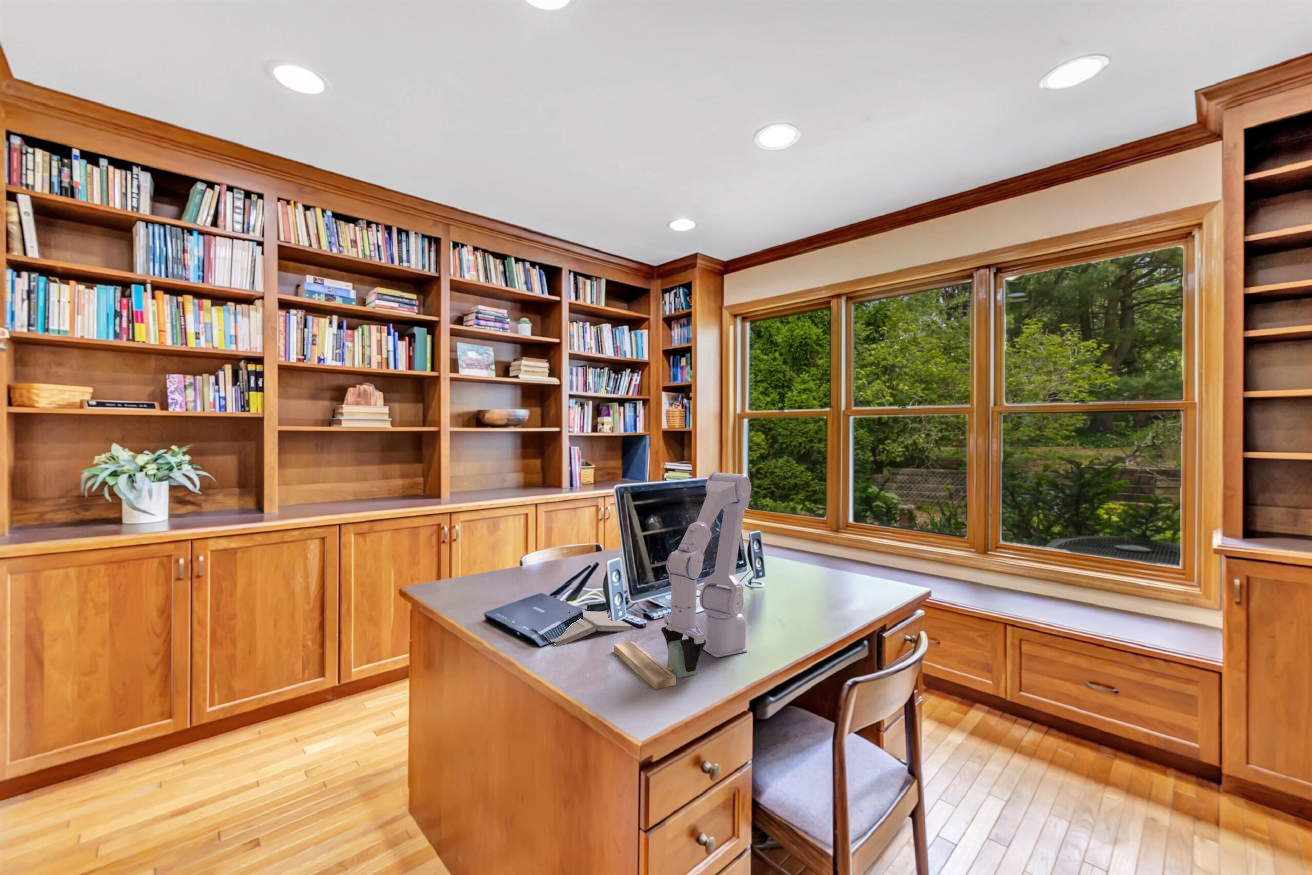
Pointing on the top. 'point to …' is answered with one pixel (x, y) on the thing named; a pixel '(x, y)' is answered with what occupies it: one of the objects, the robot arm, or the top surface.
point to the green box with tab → (677, 660)
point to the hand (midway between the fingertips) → (682, 664)
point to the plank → (645, 665)
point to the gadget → (590, 627)
